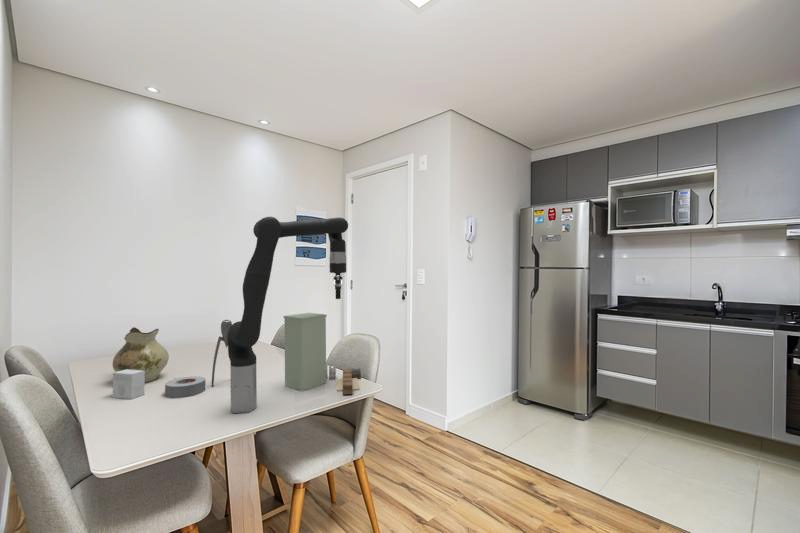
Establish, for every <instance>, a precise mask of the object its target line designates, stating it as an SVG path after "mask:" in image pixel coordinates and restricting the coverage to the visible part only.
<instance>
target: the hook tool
mask: <svg viewBox="0 0 800 533" xmlns="http://www.w3.org/2000/svg"><path fill="white" fill-rule="evenodd" d="M361 372H362V370H361V368H347V369H346V368H344V369H342V379H343V391H342V395H353V390H352V378H362V376H361V375H362V374H361Z"/></svg>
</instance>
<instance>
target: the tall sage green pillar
mask: <svg viewBox="0 0 800 533" xmlns="http://www.w3.org/2000/svg"><path fill="white" fill-rule="evenodd" d="M327 315H328V314H325V313H316V312H315V313H314V312H305V313H298V314H297V313H296V314H295V313H294V314H289V315H284V316H283V319H284V387H285V388H286V387H287V388H290V389H294V390H297V391H300V392H304V391H307V390H310V389H313V388H315V387H319V386H322V385H324V384H327V379H326V365H327V328H326V327H327V323H326V322H327V319H326V318H327Z"/></svg>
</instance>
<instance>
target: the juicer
mask: <svg viewBox="0 0 800 533" xmlns="http://www.w3.org/2000/svg"><path fill="white" fill-rule="evenodd" d="M220 324H221V325H220V332H221V336H219V337H218V339H217V344H216V346H215V351H214V356H213V364H212V372H211V387H212V388H213V387H214V383H215V382H214V381H215V374H216V373H215V372H216V365H217V364H216V363H217V359H218V358H217V357H218V353H219V349H220V345H221V341H222V342H223V343H224V344H225V348H227V349H228V331H229V328H230V327H231V326H232V325H233V323H232V321H231V320H230V319H224V320H222V321H221V323H220Z"/></svg>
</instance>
